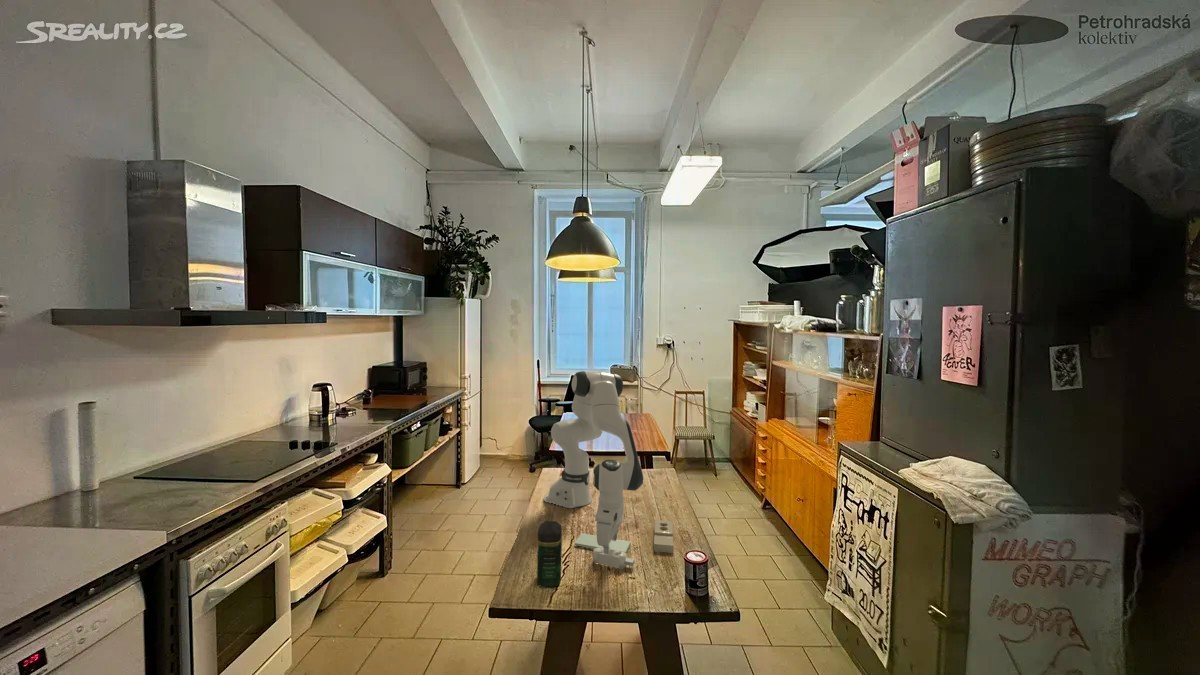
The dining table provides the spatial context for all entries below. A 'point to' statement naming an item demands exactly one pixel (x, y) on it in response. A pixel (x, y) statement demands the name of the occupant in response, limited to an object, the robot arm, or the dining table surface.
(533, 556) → the dining table surface
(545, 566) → the coffee jar
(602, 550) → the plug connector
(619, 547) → the sage board
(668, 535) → the electrical outlet
